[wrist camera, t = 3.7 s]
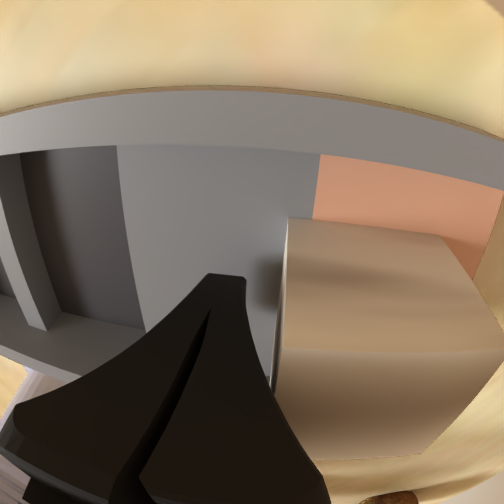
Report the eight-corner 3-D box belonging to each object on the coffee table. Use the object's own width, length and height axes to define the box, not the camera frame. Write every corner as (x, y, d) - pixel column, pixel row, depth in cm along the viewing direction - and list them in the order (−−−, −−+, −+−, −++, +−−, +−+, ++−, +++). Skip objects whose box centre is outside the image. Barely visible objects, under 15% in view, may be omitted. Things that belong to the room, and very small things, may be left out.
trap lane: (400, 365, 15) (414, 427, 12) (-22, 294, 17) (-51, 327, 14) (485, 131, 9) (553, 163, 5) (-68, 137, 11) (-111, 160, 7)
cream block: (395, 344, 12) (420, 454, 7) (274, 336, 12) (261, 457, 8) (439, 235, 9) (512, 348, 5) (288, 217, 9) (282, 347, 5)
